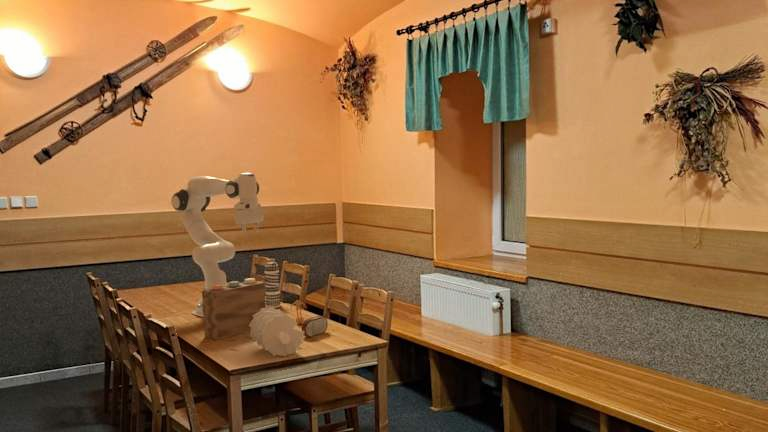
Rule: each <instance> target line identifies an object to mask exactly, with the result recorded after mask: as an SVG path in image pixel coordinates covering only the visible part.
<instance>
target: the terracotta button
mask: <svg viewBox="0 0 768 432" xmlns="http://www.w3.org/2000/svg"><path fill="white" fill-rule="evenodd" d="M221 290H223V285H213V286H212V291H221Z"/></svg>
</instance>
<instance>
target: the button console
mask: <svg viewBox="0 0 768 432" xmlns="http://www.w3.org/2000/svg"><path fill="white" fill-rule="evenodd" d="M264 283H265V281H256V280H255V283H254V284H250V285H249V284H245V281H244V282H239V287H235V288H230V287H229V284H228V285H226V286H223V290H221V291H212V289H208V290H205V289H202V291H201V293H202V294H201V295H202V297H201V298H203V317H202V318H203V330H204V333H203V334H204V338H208V339H214V340H222V339H226V338H229V337H230V338H231V337H233V336H236V335H239V334H244V333H247V332H251V327H250V326H249V324H250V323H251V321H252V320H253V318H254V317H253V315H254V314H256V313H258V312H259V311H261V308H267V307H266V298H265V297H266V296H265V295H266V287H265V284H264Z"/></svg>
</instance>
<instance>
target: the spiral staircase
mask: <svg viewBox="0 0 768 432" xmlns="http://www.w3.org/2000/svg"><path fill="white" fill-rule="evenodd" d="M253 317H254V318H253V320H252V321H251V323H250V324H249V326H250V327H251V331H249V332H250V335H249V336H250V337H251V338H252V341H253V342H256V344H257V347H260V346H261V347H262V348H264V351H267V352H268V353H271V355H273V357H276V356H281V357H287V355H290V354H292V353H296V352H297V349H298V348H299V347H301V345H302V344H303V343H304V342H303V338H304V331H302V330H300V329H298V328H295V327H297V326H298V323H297V322H296V318H295V317H294V316H291V314H289V315H288V314H286V313H285V312H284V311H283V310H281V309H280V308H278V309H277V308H276V307H275V308H273V307H272V306H270V308H267V307H266V308H261V311H259V312H258V313H256V314H254V315H253Z"/></svg>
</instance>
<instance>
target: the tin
mask: <svg viewBox="0 0 768 432" xmlns="http://www.w3.org/2000/svg"><path fill="white" fill-rule="evenodd" d="M327 329H328V320H327V318H326V316H325V317H324V316H322V315H317V316H313V317H309V318H307V319H304V322H303V323H302V324H301V331H304V335H303V337H307V338H312V337H315V336H319V335H322V334H324V333H326V331H327Z"/></svg>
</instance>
